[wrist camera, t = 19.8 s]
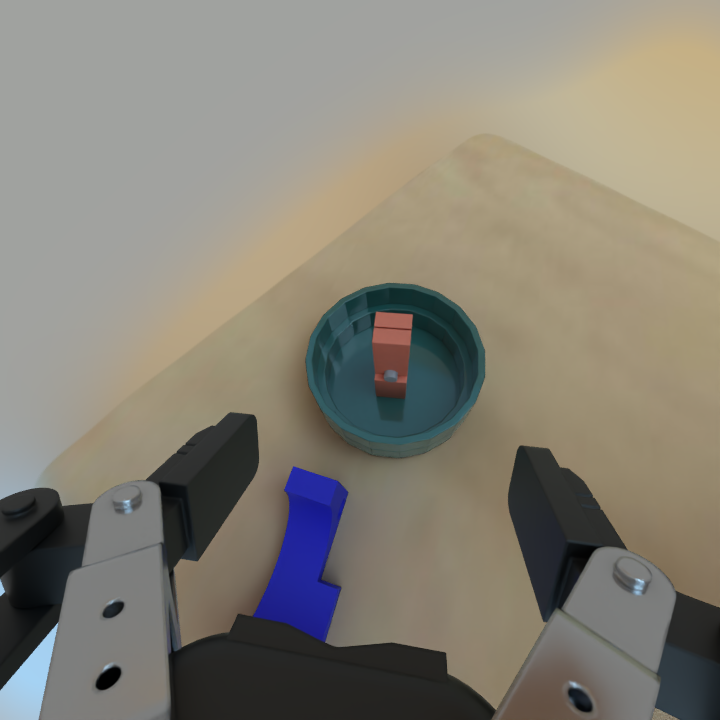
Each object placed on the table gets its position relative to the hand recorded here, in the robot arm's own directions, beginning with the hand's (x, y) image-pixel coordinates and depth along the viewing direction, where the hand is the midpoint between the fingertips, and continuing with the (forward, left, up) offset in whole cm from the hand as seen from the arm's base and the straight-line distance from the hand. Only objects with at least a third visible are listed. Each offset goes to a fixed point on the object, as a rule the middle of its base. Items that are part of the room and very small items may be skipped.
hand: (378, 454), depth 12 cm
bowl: (0, -10, -18) cm, 21 cm away
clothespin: (+1, -10, -18) cm, 20 cm away
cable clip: (+5, +5, -18) cm, 20 cm away
